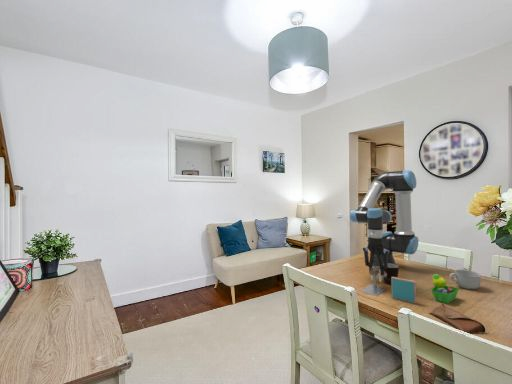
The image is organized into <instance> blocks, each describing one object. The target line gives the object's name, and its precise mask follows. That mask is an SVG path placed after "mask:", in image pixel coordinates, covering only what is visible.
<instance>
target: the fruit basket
mask: <svg viewBox="0 0 512 384" xmlns="http://www.w3.org/2000/svg"><path fill="white" fill-rule="evenodd" d="M432 284H433V286H434V287H432V288H431V289H430V291H431V292H432V295H433V298H434V301H437V302H441V303H444V304H450V303H451V302H452V301H454V300H456V297H457V295H458V292H459V288H458V287H454V286H451V285H447V281H446V280H445V278H443V277H442V276H441V275H439V274H437V273H434V274H433V276H432Z"/></svg>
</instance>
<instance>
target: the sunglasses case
mask: <svg viewBox="0 0 512 384" xmlns="http://www.w3.org/2000/svg"><path fill="white" fill-rule="evenodd" d="M428 314H429V315H431V316H432V317H435V318H436V319H439V320H440V321H442V322H444V323H446V324H447V323H448V324H447V325H449V326H450V327H452V328H454V329H456V330H457V329H459V330H462V331H464V332H467V333H470V334H469V335H473V334H474V333H475V334H480V333H479V332H486V327H485V326H484V325H483V324H482V323H481V322H479V321H477V320H475V319H473V318H471V317H469V316H467V315H465V314H463V313H461V312H459V311H457V310H455V309H453V308H451V307H449V306H447V305H445V303H444V304H443V303H441V305H439V306H437V307H436V308H434V309H433V310H432V311H430V312H428ZM459 330H458V331H459Z"/></svg>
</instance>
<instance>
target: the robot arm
mask: <svg viewBox="0 0 512 384" xmlns="http://www.w3.org/2000/svg"><path fill="white" fill-rule="evenodd" d="M369 185H370V187H369V189H368V191H367V192H366V194H365V196H364V198H363V199H362V201H361V203H360V204H359V206H358V207H357V209H352V210H351V211H350V213H349V218H350V219H349V220H350V221H351V222H353V223H358V224H359V223H361V224H364V223H365V224H367V236H368V237H367V245H366V246H365V247H362V252H363V254H364V255H363V256H364V264H365V266H366V267H368V272H369V274H370V269H372V268H373V267H375V266H380V269H379V274H378V282H379V283H380V282H382V281H383V275H384V269H386V268H387V267H388V263H390V264H396V265H397V263H396V260H395V257H394V255H393V253H399V254H405V255H414V254H416V253H417V250H418V248H419V237H417V236H416V235H415V232H414V231H413V230H412V227H413V226H412V198H411V196H412V195H411V194H412V193H413V192H414V189H416V187H417V177H416V175H415V173H414V171H412V170H404V169H403V170H396V171H395V170H394V171H385V172H382V173H381V174H378V175H377V176H376V177H375V178H374V179H373V180H372V181H371V183H370V184H369ZM386 190H392V193H393V194H394V195H395V216H396V217H395V218H396V220H395V221H396V222H395V223H396V230H395V231H394V232H392V231H384V225H387V224H388V223H390V222H391V221H392V220H393V216H392V213H391V212H390V211H388V210H383V208H380V207H379V208H378V207H376V208H375V205H376V203H377V202H378V200H379V198H380V197H381V194H382V193H383V192H385V191H386ZM369 252H370V254H369ZM369 255H370V256H369ZM383 264H384V265H383ZM370 280H371V281H373V275H370Z"/></svg>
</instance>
